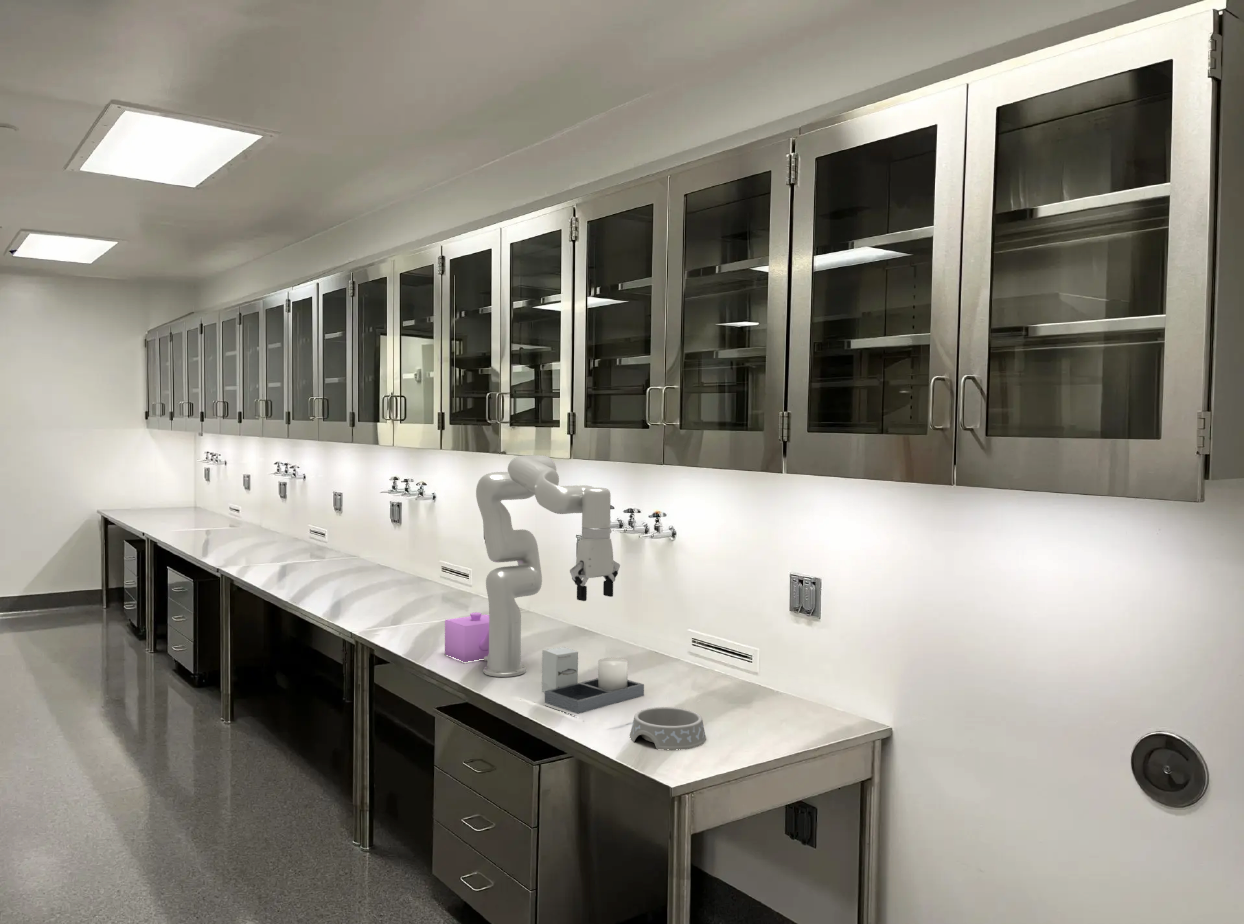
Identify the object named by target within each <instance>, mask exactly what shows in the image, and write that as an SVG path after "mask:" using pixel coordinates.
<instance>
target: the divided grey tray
mask: <svg viewBox="0 0 1244 924" xmlns="http://www.w3.org/2000/svg"><path fill="white" fill-rule="evenodd" d="M644 696H645V684H644V683H640V682H637V681H633V680H629V679H628V682H627V688H623V689H619V690H615V691H611V692H610V691H607V690H604V689H601V688H598V677H596V678H592V679H590V680H585V681H580V682H578V683H576V684H572V685H568V686H564V687H559V688H555V689H551V690H547V691H545V693H544V703H546V704H548V705H551V706H553V707H550V706H548V705H544V707H546V708H549V709H552V710H554V711H555V710H556V711H558V712H560V711H561V713H563V712H564V713H563V714H566V713H568V712H572V713H575V714H577V715H578V714H579V715H580V714H582V713H585V712H589V711H590V712H591V711H593V710H597V709H600V708H604V707H607V706H610V705H614V704H619V703H621V702H626V701H629V700H632V699H636V698H640V697H644ZM555 707H556V708H555ZM557 708H560V709H563V710H565V711H568V712H565V711H563V710H560V709H557ZM572 713H568V714H567V715H569V714H570V715H569V716H572V715H574V714H572ZM575 716H576V715H574V716H573V717H575Z"/></svg>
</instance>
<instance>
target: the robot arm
mask: <svg viewBox="0 0 1244 924" xmlns="http://www.w3.org/2000/svg"><path fill="white" fill-rule="evenodd" d="M559 482H560V478H559V474H558V472H557V465H556V463H555V462H554V460H553V459H552V458H551V457H550V456H547V455H544V454H543V455H542V454H539V455H537V454H536V455H518V456H516V457H514V458H513V459H512V460H510V462H509V463H508V465H507V471H495V472H489V473H486V474H484V475H483V476H481V477H480V479H479V480H478V482H477V484H476V489H475V497H476V502H477V505H478V509H479V512H480V514H481V518H482V524H483V525H482V526H483V531H484V532H483V533H484V540H485V541H484V542H485V550H486V553H487V557H488V559H489V560H490V561H491V562H492V563H493V562H494V563H509V562H510V563H511V562H517V565H509V566H500V567H496V568H494V569H492V570H491V571H490V572H489V573H487V575H486V578H485V586H486V587H485V588H486V594H487V600H488V601H487V602H488V615H489V654H488V655H487V656H485V657H484V661H486V662H487V664H486V666H484V667H483V671H482V672H483V673H484V674H485V675H486V676H490V677H496V678H497V677H499V678H507V677H508V678H509V677H516V676H520V675H524V674H525V673H526V671H527V668H526V666H525V665H523V664H522V663H521V662H522V658H521V657H522V655H521V654H522V648H521V647H522V646H521V645H522V613H521V609H520V607H519V605H518V603H517V602H516V600H515V599H516V598H522V597H528V596H533V595H537V593H539V592H540V590H541V589H542V585H543V583H542V582H543V575H542V567H541V562H540V552H539V547H538V543H537V542H538V541H537V539H536V537H535V536H534V534H533V532H531V531H530V530H527V529H514V528H513V524H512V516H511V513H510V512H509V510H508V508H507V507H506V506H505V505H504V504H503V502H502V501H515V500H526V499H527V500H528V499H530V498H532V497H533V496H534V497H535V499H536V501H537V504H538V505H539V506H541V507H542V508H544V509H545V510H548V511H549V512H552V513H555V514H557V515H568V514H581V515H582V516H581V539H579V541H578V544H577V551H576V558H575V559H576V560H575V561H576V562H575V565H574V566H573V567H572V568H570V569H569V573H570V575H571V579H572V581H573V582H574V585H576V600H577V601H581V602H586V601H587V600H588V599H587V598H588V597H587V595H588V586H587V585H586V584H587V582H588V580H589V579H595V578H601V577H603V578H604V580H603V585H602V586H603V591H602V592H603V593H602V594H603V596H605V597H609V598H610V597H611V598H612V597H614V582H615V581H616V578H617V576H618V573H619V570H620V568H621V564H620V563H618V562H617V561H615V560H614V551H613V550H614V549H613V542H612V538H611V534H612V529H611V499H612V497H611V491H610V490H609V489H608V488H605V487H594V486H592V485H586V484H585V485H581V484H579V485H577V484H576V485H559Z"/></svg>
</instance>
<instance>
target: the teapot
mask: <svg viewBox="0 0 1244 924" xmlns="http://www.w3.org/2000/svg"><path fill="white" fill-rule="evenodd" d="M469 614H470V615H468V616H463V617H455V618H448V619H445V620H444V655H445V654H446V655H448V656H451V657H454V658H456V659H459V660H461V661H463V662H468V661H474V660H479V659H484V657H485V656H487V655H488V654H489V614H482V613H481V612H477V611H476V612H471V613H469Z"/></svg>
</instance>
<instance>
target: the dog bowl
mask: <svg viewBox="0 0 1244 924" xmlns="http://www.w3.org/2000/svg"><path fill="white" fill-rule="evenodd" d="M632 721H633V722H632V725H631V730H630V733H629V736H630V737H629V739H630V738H631V739H630V741H631V742H632V743H634V742H635V741H636V739H637V738H638V737H639V736H641V738H642V739H644V740H645V741H647V742H651V743H654V745H655V748H656V750H658V749H664V750H663V751H682V750H681V749H685V750H691V749H695V748H698V747H700V746H702V745H704V744H705V743H706V741H707V737H706V732H705V726H704V720H703V717H702V716H701V715H700V714H699V713H697V712H695V711H694V710H690V709H686V708H682V707H681V708H680V707H672V706H657V707H655V706H654V707H648V708H643V709H641V710H639V711H637V712H636V713H635V714H634V717H633V720H632ZM667 749H669V750H667ZM676 749H678V750H676ZM679 749H680V750H679Z"/></svg>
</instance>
